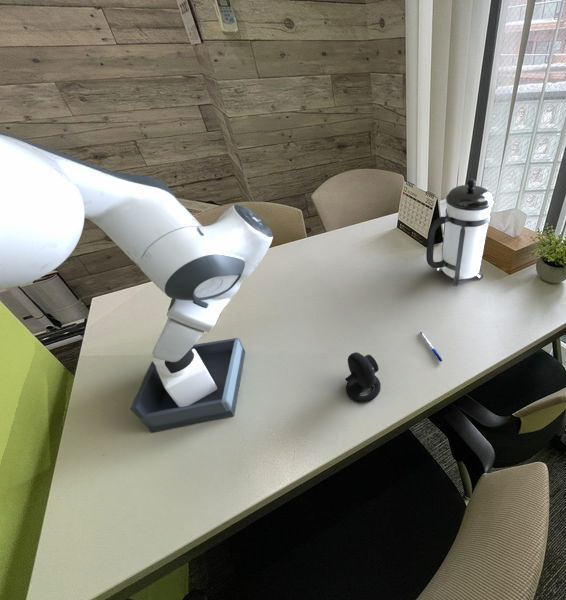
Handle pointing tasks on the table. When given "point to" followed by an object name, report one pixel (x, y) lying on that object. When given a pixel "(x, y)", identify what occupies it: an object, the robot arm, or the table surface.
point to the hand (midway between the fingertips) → (167, 337)
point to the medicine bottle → (185, 378)
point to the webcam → (362, 377)
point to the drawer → (217, 405)
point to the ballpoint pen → (431, 347)
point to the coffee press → (462, 232)
